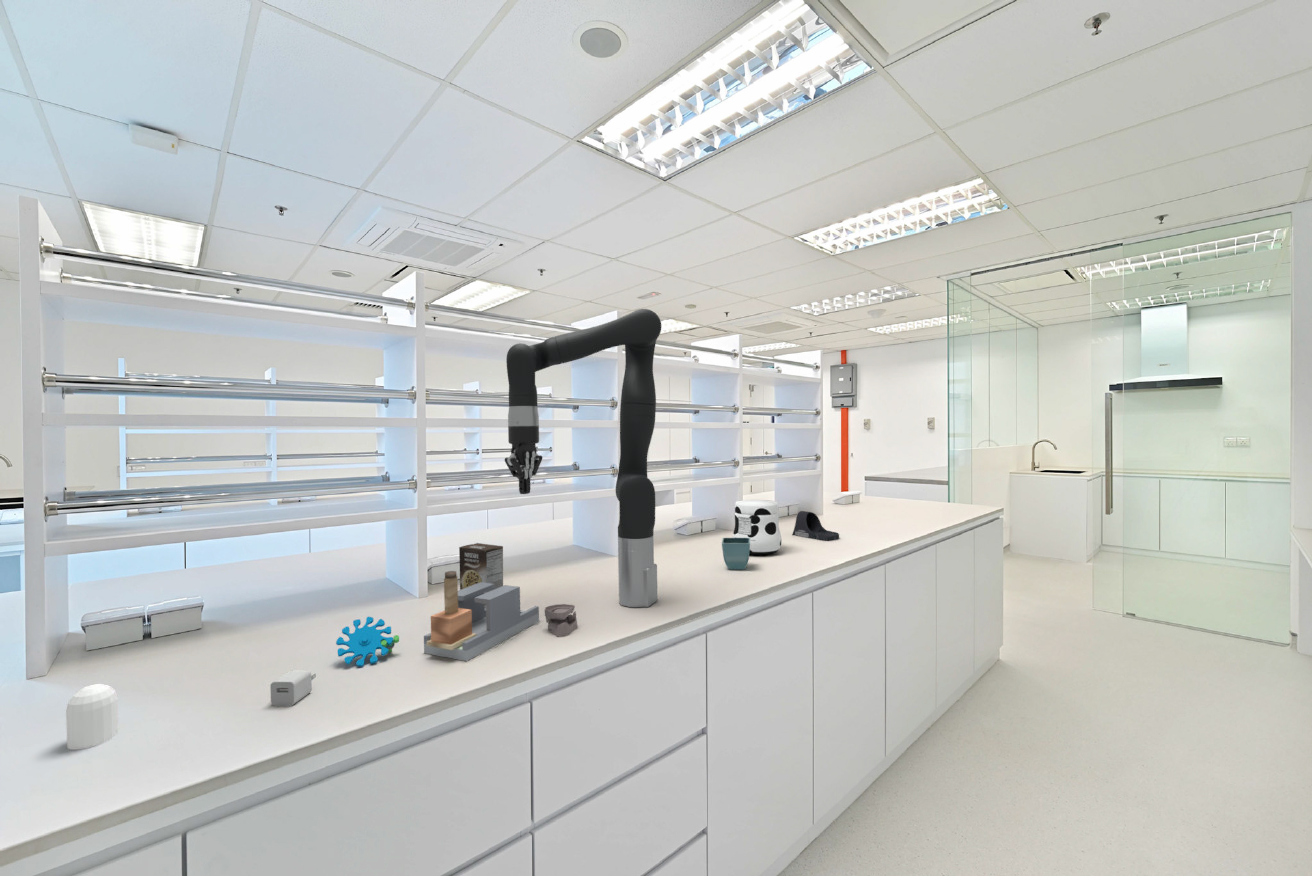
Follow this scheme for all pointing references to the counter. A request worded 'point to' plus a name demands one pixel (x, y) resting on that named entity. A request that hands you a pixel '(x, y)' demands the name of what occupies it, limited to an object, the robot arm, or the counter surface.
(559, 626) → the dental mold
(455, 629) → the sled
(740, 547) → the flower pot
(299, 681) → the usb wall charger
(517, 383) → the robot arm
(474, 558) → the coffee box
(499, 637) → the tunnel
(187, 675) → the counter surface
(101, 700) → the white domed cylinder
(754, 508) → the milk container
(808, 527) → the sight
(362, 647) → the gear
